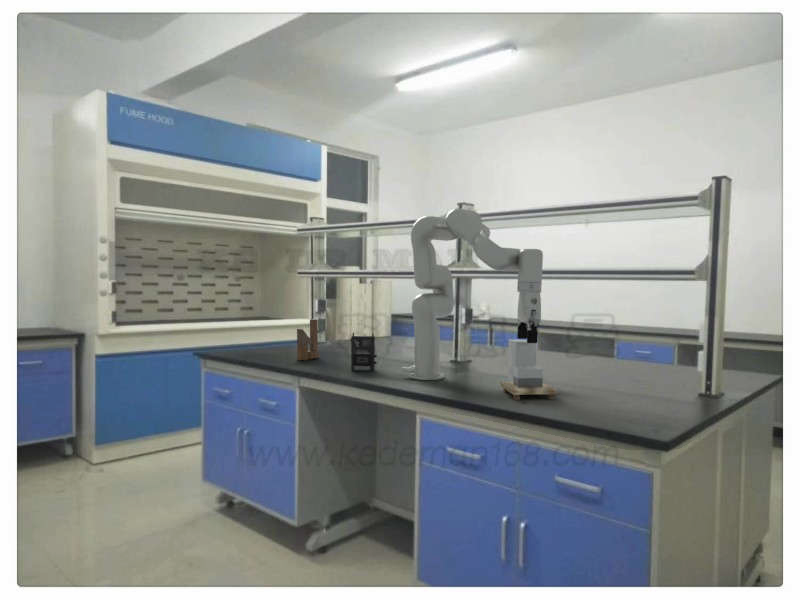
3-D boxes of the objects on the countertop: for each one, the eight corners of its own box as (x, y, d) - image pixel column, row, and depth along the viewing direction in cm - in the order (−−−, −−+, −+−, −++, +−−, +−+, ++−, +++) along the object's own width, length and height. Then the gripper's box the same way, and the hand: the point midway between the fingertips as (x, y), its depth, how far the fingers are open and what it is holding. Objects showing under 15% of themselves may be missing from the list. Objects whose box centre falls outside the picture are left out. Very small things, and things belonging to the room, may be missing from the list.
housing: (542, 387, 179) (542, 368, 178) (518, 387, 178) (518, 368, 178) (536, 384, 184) (537, 366, 183) (513, 384, 183) (513, 366, 183)
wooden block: (296, 360, 251) (296, 320, 251) (313, 357, 260) (313, 318, 259) (302, 360, 249) (302, 320, 248) (319, 358, 258) (319, 319, 257)
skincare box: (515, 386, 196) (515, 341, 195) (506, 382, 202) (507, 339, 201) (536, 384, 198) (537, 341, 197) (527, 381, 204) (528, 338, 204)
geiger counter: (377, 369, 228) (377, 332, 227) (375, 371, 224) (375, 333, 223) (352, 368, 229) (352, 332, 228) (349, 370, 225) (350, 333, 224)
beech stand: (513, 400, 173) (513, 390, 173) (500, 391, 187) (500, 382, 187) (557, 399, 174) (557, 390, 174) (541, 390, 188) (541, 381, 188)
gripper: (550, 289, 171) (547, 345, 172) (531, 286, 188) (529, 337, 189) (526, 288, 170) (524, 344, 171) (509, 286, 187) (507, 336, 189)
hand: (526, 340), depth 180 cm, fingers open, 9 cm apart
